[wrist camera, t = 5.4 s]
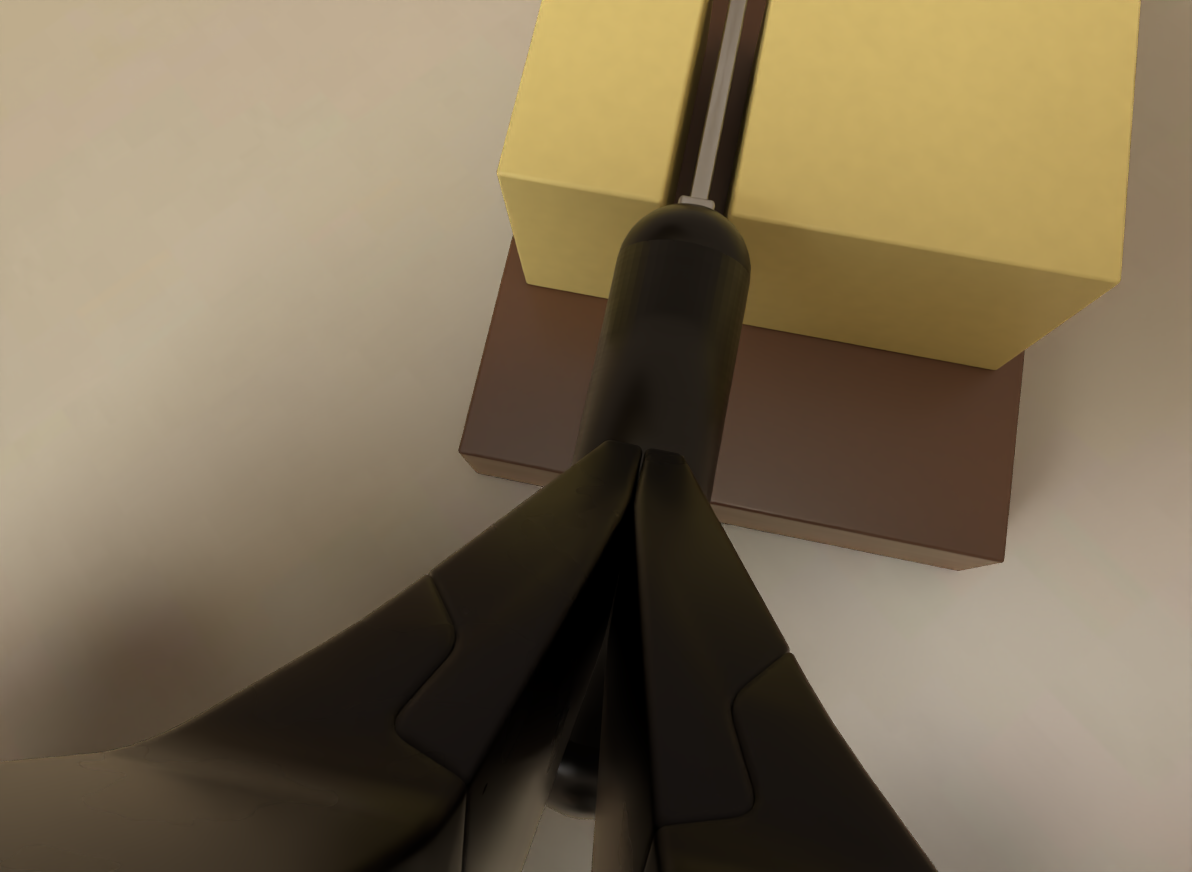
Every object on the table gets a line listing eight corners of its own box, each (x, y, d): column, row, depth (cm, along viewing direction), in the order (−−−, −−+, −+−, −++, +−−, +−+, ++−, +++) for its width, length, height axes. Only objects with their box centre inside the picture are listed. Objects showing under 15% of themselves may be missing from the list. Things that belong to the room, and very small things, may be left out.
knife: (641, 772, 14) (653, 853, 9) (535, 748, 14) (485, 814, 9) (777, 38, 17) (845, -222, 12) (690, 24, 17) (719, -238, 12)
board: (960, 571, 17) (1005, 563, 15) (475, 472, 17) (456, 452, 15) (1020, 22, 19) (1064, -46, 17) (602, -42, 20) (600, -114, 18)
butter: (996, 371, 15) (1122, 283, 12) (525, 285, 16) (494, 174, 12) (1025, 93, 17) (1147, -70, 13) (589, 24, 17) (580, -152, 14)
